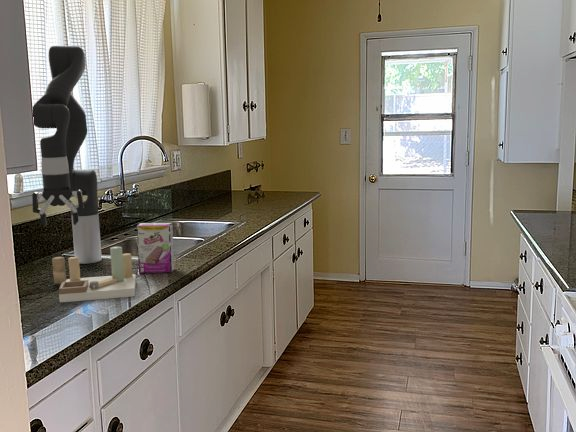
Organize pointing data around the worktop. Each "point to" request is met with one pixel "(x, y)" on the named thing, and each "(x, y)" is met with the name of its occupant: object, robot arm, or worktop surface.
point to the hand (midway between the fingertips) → (60, 225)
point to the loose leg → (59, 270)
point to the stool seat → (80, 286)
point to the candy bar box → (155, 247)
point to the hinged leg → (116, 269)
